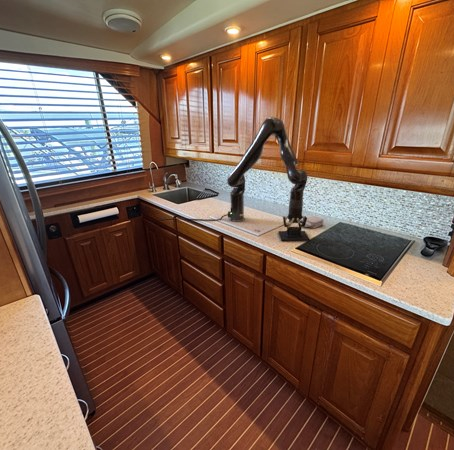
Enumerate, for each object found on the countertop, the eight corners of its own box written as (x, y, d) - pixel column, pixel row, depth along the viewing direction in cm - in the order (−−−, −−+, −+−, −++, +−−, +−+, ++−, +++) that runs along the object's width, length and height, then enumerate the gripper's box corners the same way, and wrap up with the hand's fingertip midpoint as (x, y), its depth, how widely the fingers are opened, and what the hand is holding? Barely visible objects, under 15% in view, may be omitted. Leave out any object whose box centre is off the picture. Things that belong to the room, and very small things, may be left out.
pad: (289, 235, 138) (290, 230, 137) (288, 232, 143) (288, 226, 142) (299, 235, 138) (299, 230, 136) (297, 231, 143) (297, 226, 142)
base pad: (281, 241, 136) (281, 237, 135) (278, 232, 147) (278, 229, 146) (309, 241, 135) (310, 237, 134) (304, 232, 146) (304, 229, 146)
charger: (297, 227, 155) (311, 221, 163) (308, 231, 148) (322, 225, 156) (297, 220, 153) (311, 215, 161) (309, 224, 146) (323, 218, 154)
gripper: (306, 203, 137) (304, 230, 144) (282, 204, 138) (280, 230, 144) (310, 207, 130) (307, 235, 137) (284, 208, 131) (282, 235, 137)
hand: (293, 233), depth 140 cm, fingers closed on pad, 5 cm apart
